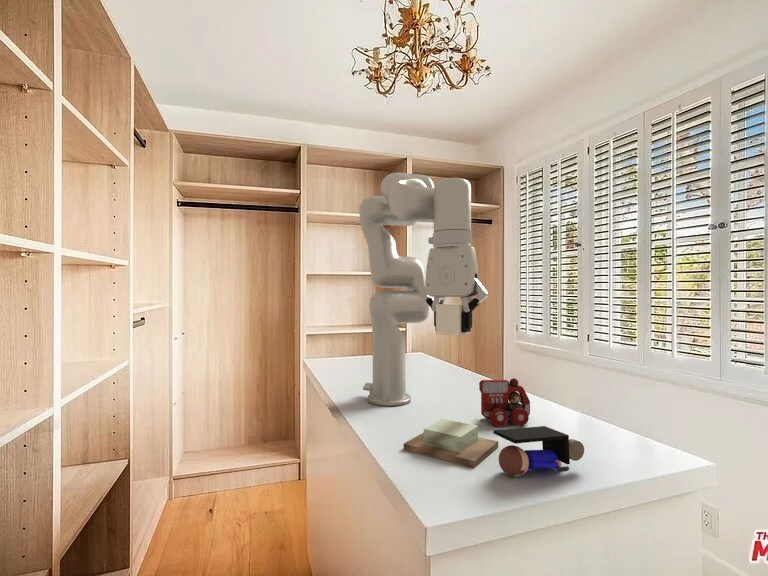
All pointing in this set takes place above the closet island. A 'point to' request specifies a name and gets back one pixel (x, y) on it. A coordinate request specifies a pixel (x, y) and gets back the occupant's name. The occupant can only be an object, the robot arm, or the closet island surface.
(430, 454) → the base
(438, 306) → the cream block
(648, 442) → the closet island surface
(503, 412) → the toy fire truck
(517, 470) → the figurine character
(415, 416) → the closet island surface
